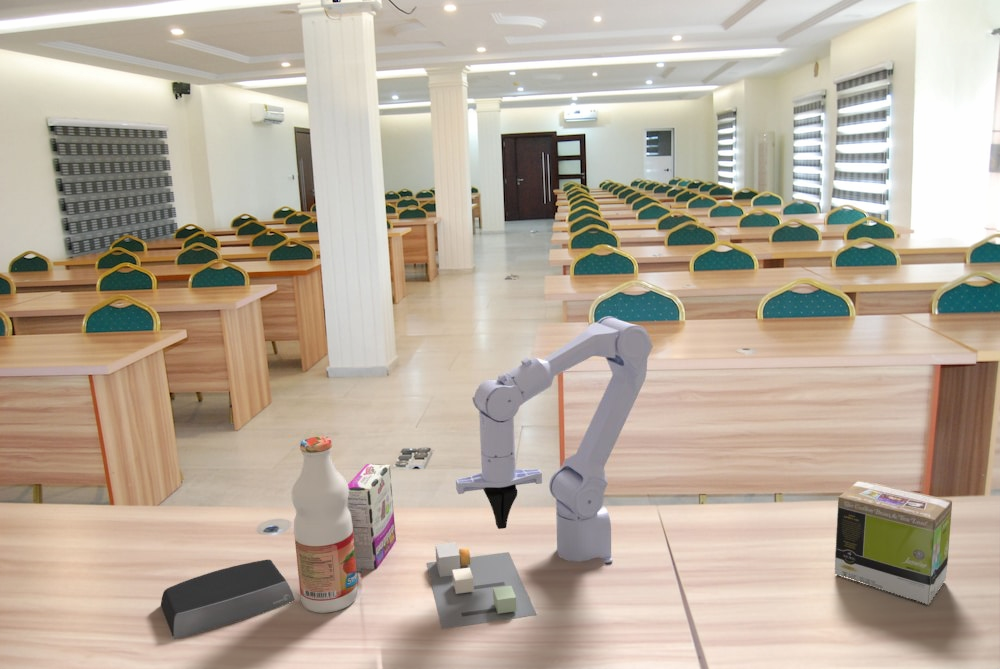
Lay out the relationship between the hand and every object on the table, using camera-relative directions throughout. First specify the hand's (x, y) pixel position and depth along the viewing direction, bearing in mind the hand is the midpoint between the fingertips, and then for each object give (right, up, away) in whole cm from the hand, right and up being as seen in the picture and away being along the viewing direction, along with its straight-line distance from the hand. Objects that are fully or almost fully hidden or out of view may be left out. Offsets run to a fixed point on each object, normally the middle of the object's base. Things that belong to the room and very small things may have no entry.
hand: (501, 526), depth 139 cm
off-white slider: (-6, -10, -4) cm, 12 cm away
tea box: (+65, -8, -3) cm, 66 cm away
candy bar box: (-23, -8, +10) cm, 27 cm away
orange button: (-6, -8, +4) cm, 10 cm away
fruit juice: (-29, -12, -3) cm, 31 cm away
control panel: (-4, -10, -3) cm, 11 cm away
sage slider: (+1, -11, -10) cm, 15 cm away
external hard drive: (-46, -13, -3) cm, 48 cm away
